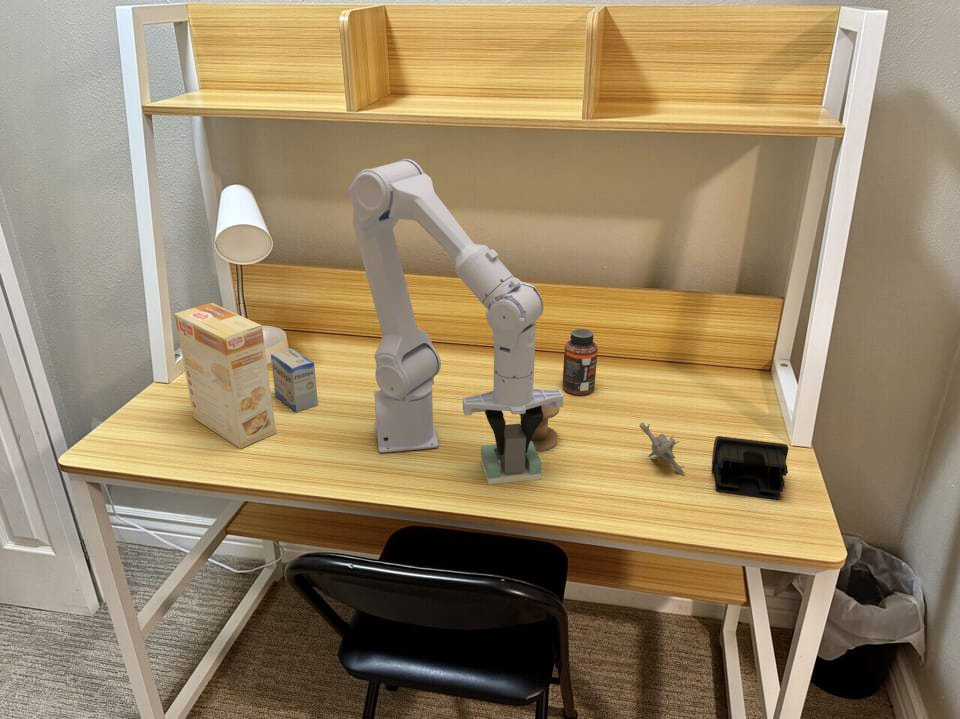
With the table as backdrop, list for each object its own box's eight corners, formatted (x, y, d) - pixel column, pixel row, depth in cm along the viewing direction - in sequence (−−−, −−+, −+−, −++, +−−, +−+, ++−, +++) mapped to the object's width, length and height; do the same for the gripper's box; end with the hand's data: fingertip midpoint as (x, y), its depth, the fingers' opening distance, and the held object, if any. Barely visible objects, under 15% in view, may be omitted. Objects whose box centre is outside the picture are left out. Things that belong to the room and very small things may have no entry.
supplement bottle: (593, 398, 136) (598, 340, 131) (560, 394, 137) (563, 338, 132) (595, 383, 141) (600, 327, 136) (563, 380, 142) (567, 324, 137)
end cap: (778, 474, 115) (786, 436, 112) (784, 501, 108) (792, 462, 105) (710, 465, 117) (716, 428, 114) (712, 492, 110) (718, 453, 108)
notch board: (488, 484, 112) (488, 467, 110) (481, 462, 117) (481, 445, 116) (540, 479, 113) (541, 462, 112) (531, 457, 118) (532, 441, 117)
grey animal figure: (700, 455, 120) (698, 466, 111) (670, 477, 121) (666, 490, 113) (659, 406, 121) (654, 413, 113) (630, 428, 123) (623, 437, 114)
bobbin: (519, 453, 119) (521, 417, 117) (510, 430, 126) (511, 395, 123) (562, 449, 121) (564, 413, 118) (551, 427, 127) (553, 392, 124)
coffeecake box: (278, 433, 125) (263, 324, 116) (239, 450, 120) (222, 338, 111) (229, 403, 134) (212, 300, 125) (192, 418, 129) (172, 312, 120)
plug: (504, 473, 112) (505, 439, 109) (499, 458, 115) (500, 425, 112) (524, 471, 112) (526, 437, 109) (518, 456, 116) (519, 423, 113)
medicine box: (274, 397, 136) (269, 353, 132) (296, 389, 139) (291, 346, 135) (296, 413, 131) (291, 368, 127) (319, 405, 133) (314, 361, 130)
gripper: (468, 386, 102) (468, 470, 108) (571, 378, 105) (565, 460, 111) (460, 363, 109) (460, 444, 114) (557, 356, 111) (553, 435, 117)
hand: (511, 450), depth 113 cm, fingers closed on plug, 3 cm apart
